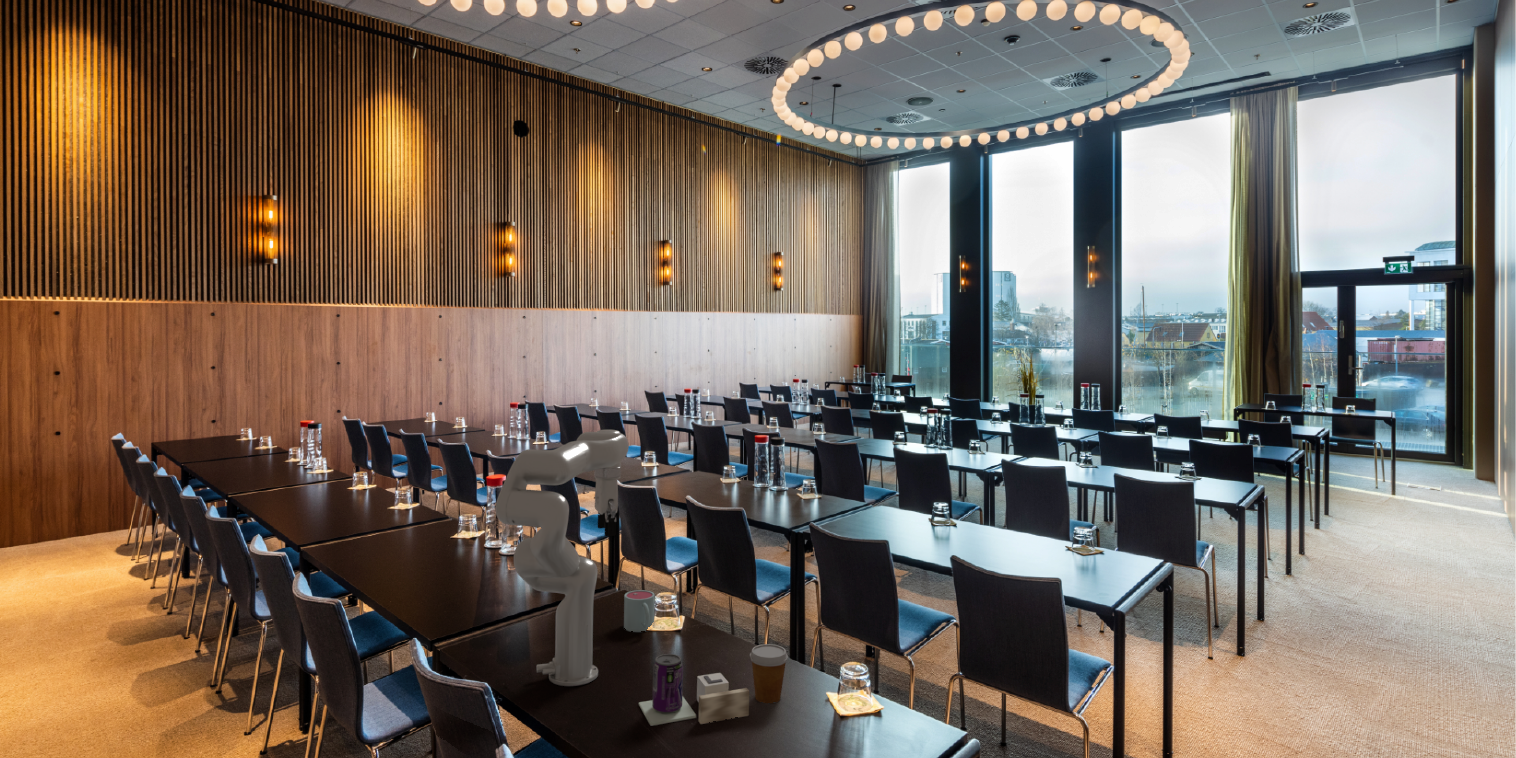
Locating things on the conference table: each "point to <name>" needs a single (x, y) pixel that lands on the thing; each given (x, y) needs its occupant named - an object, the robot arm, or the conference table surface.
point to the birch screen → (723, 705)
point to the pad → (661, 718)
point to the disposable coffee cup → (768, 671)
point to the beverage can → (667, 683)
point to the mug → (638, 610)
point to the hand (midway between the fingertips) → (606, 531)
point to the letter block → (711, 684)
